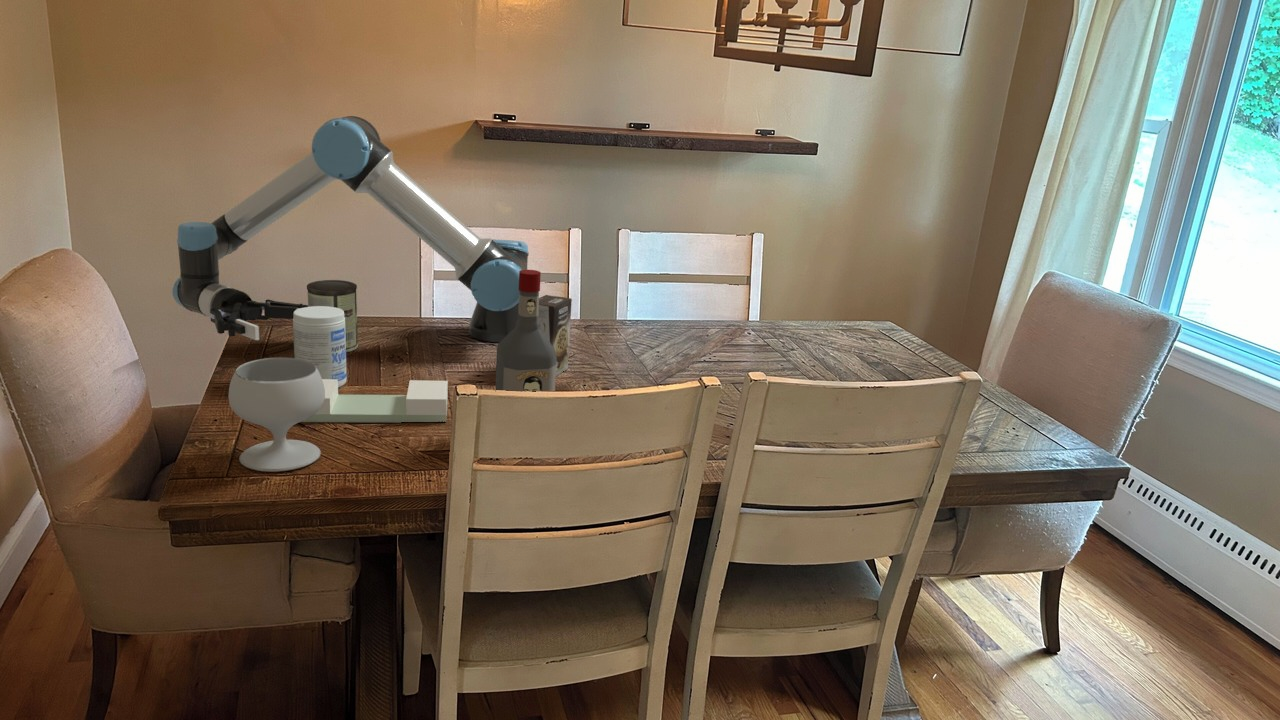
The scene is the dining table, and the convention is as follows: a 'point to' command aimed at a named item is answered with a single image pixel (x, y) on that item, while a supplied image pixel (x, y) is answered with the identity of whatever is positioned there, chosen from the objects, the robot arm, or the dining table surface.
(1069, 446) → the dining table surface
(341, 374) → the supplement tub
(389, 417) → the rail
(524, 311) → the liquor
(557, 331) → the coffee box
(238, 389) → the chalice
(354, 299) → the coffee can
